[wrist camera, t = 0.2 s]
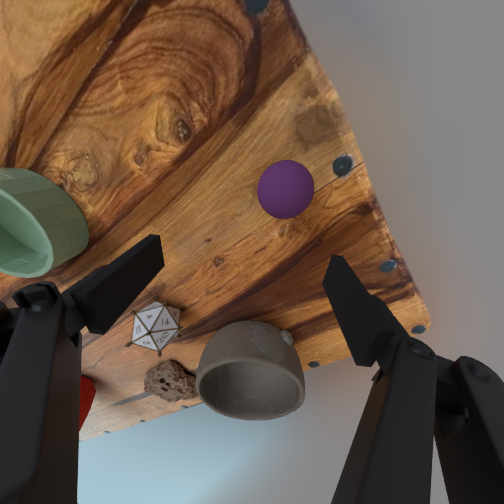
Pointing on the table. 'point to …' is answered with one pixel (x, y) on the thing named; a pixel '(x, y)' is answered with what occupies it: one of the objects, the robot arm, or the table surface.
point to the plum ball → (285, 189)
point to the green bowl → (37, 224)
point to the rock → (170, 382)
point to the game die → (156, 326)
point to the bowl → (251, 372)
